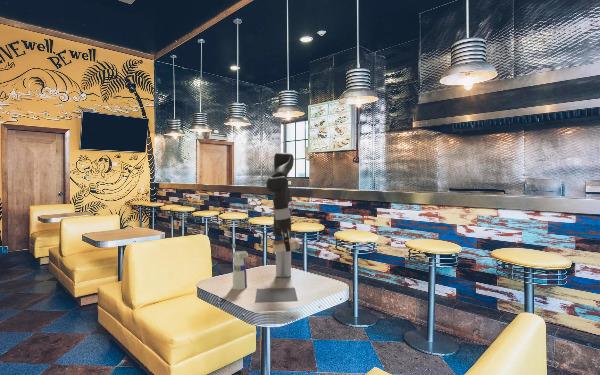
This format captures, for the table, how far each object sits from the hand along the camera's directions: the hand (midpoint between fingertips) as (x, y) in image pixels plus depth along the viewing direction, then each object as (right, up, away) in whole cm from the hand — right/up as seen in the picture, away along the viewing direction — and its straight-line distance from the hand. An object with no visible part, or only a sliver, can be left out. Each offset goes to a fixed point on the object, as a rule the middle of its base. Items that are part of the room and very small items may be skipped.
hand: (288, 249), depth 166 cm
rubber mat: (-6, -23, -1) cm, 24 cm away
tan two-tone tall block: (-8, +1, -1) cm, 8 cm away
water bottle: (-26, -23, +11) cm, 37 cm away
